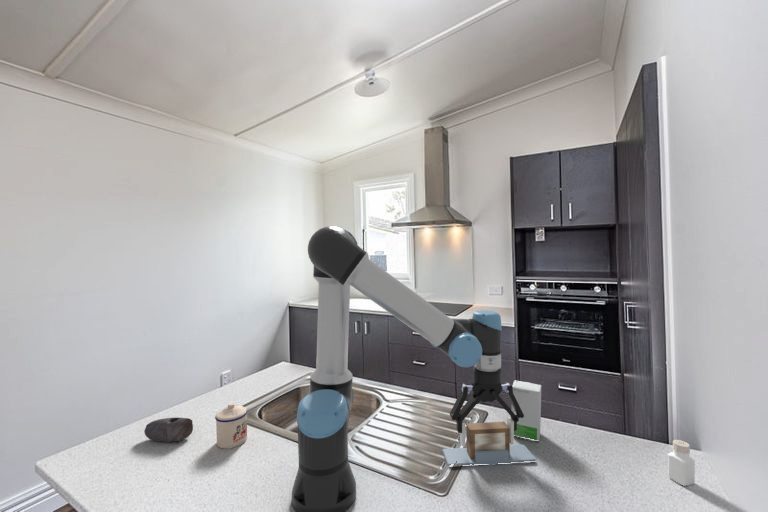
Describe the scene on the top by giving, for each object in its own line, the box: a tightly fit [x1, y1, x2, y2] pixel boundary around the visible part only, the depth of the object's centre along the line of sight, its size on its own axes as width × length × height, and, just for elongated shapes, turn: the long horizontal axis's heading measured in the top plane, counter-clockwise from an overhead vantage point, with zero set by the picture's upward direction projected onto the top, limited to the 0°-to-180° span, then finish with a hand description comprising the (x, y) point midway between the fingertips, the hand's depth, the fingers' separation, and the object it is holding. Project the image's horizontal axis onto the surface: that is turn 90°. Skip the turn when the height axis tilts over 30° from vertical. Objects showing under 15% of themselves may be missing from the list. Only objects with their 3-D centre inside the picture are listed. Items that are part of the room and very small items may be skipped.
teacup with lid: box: [214, 402, 248, 449], centre depth 110 cm, size 12×9×12 cm
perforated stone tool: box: [144, 417, 194, 443], centre depth 110 cm, size 15×5×7 cm, turn 83°
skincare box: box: [511, 379, 542, 441], centre depth 109 cm, size 8×7×16 cm
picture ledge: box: [442, 444, 537, 467], centre depth 98 cm, size 24×7×6 cm, turn 93°
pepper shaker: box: [667, 439, 696, 487], centre depth 87 cm, size 4×4×10 cm
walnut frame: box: [465, 421, 511, 459], centre depth 98 cm, size 11×4×8 cm, turn 93°
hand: (486, 442), depth 98 cm, fingers open, 13 cm apart
